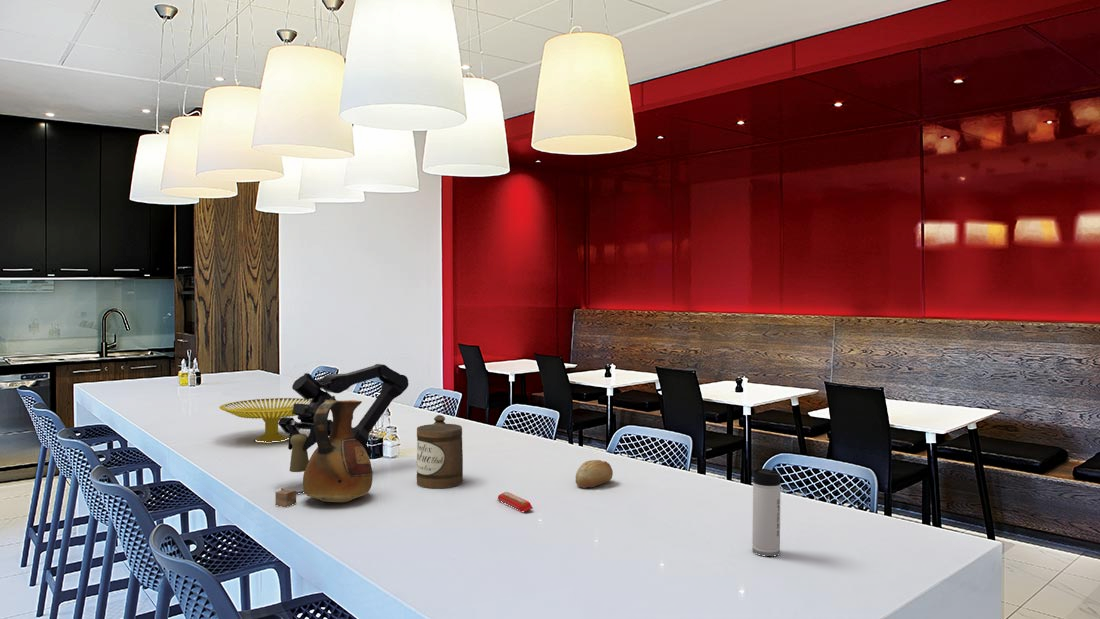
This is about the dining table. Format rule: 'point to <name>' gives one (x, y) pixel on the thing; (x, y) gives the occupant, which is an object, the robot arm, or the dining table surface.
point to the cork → (298, 453)
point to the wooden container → (439, 454)
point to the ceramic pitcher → (337, 457)
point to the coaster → (295, 488)
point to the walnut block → (285, 497)
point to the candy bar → (515, 501)
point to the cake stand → (265, 415)
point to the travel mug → (766, 512)
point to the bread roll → (593, 473)
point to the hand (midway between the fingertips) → (296, 449)
